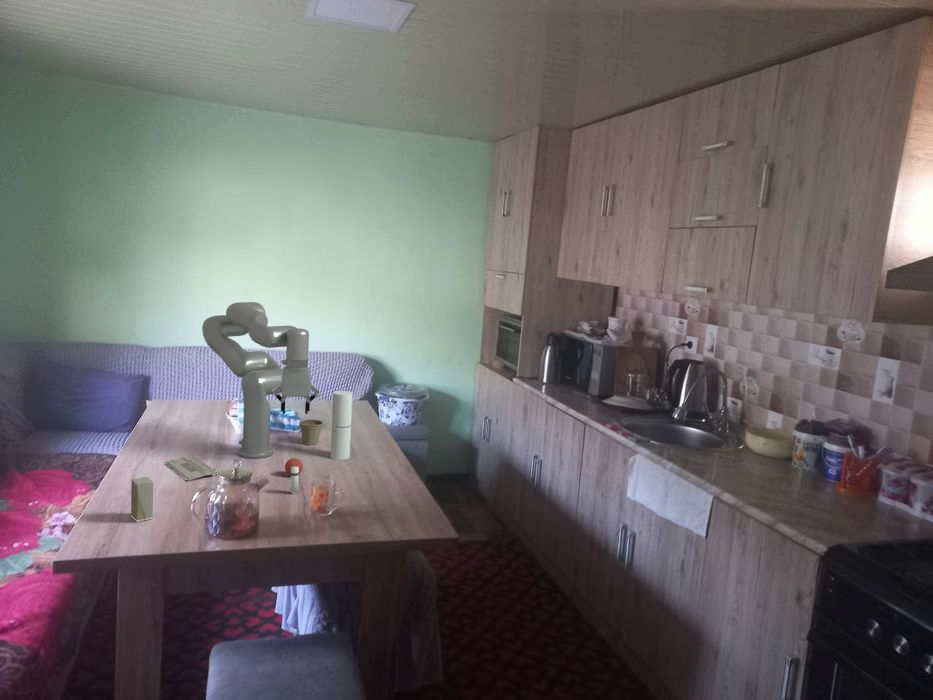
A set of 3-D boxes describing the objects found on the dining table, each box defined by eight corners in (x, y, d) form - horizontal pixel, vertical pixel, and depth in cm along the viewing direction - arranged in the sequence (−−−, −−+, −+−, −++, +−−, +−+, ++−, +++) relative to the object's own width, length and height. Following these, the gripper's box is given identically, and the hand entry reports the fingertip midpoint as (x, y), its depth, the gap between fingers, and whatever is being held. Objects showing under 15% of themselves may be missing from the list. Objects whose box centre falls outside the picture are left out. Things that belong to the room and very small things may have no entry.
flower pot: (299, 447, 258) (299, 425, 257) (297, 440, 267) (298, 419, 266) (323, 446, 261) (324, 425, 260) (320, 439, 270) (321, 419, 269)
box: (130, 517, 183) (130, 479, 182) (146, 513, 186) (146, 476, 185) (137, 523, 180) (137, 484, 178) (153, 519, 183) (153, 481, 181)
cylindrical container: (345, 461, 245) (348, 395, 242) (327, 458, 246) (330, 393, 243) (352, 455, 252) (355, 392, 249) (334, 453, 253) (337, 390, 250)
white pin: (288, 493, 209) (289, 467, 208) (294, 491, 211) (295, 465, 210) (293, 495, 208) (294, 469, 207) (299, 493, 210) (300, 467, 209)
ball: (280, 475, 225) (281, 458, 224) (294, 471, 230) (295, 454, 229) (292, 479, 222) (293, 462, 221) (306, 475, 227) (306, 458, 226)
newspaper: (224, 477, 221) (223, 470, 221) (187, 487, 213) (186, 480, 213) (198, 458, 238) (198, 452, 237) (163, 467, 229) (162, 461, 229)
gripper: (270, 365, 224) (269, 415, 226) (322, 366, 228) (320, 415, 231) (271, 361, 231) (269, 410, 233) (321, 362, 236) (319, 410, 238)
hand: (295, 412), depth 232 cm, fingers open, 7 cm apart
